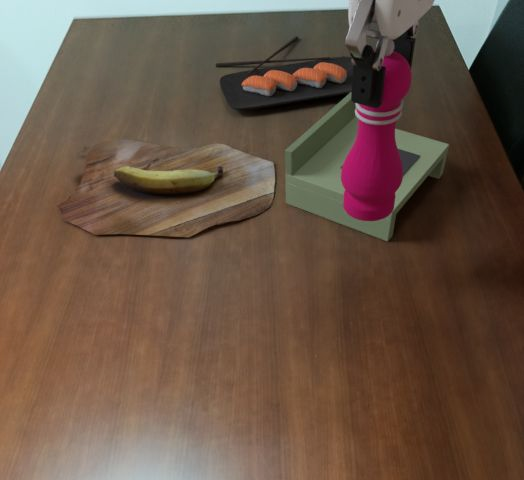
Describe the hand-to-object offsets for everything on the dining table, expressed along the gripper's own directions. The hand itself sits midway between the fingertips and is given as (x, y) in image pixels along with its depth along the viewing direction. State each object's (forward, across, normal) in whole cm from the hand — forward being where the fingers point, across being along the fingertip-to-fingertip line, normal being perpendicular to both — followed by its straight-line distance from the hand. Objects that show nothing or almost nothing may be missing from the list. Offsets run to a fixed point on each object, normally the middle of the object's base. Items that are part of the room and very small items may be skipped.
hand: (381, 87), depth 61 cm
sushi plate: (+27, +46, +41) cm, 68 cm away
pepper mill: (+15, 0, 0) cm, 15 cm away
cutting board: (+27, +3, +37) cm, 46 cm away
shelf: (+27, +19, +9) cm, 34 cm away
